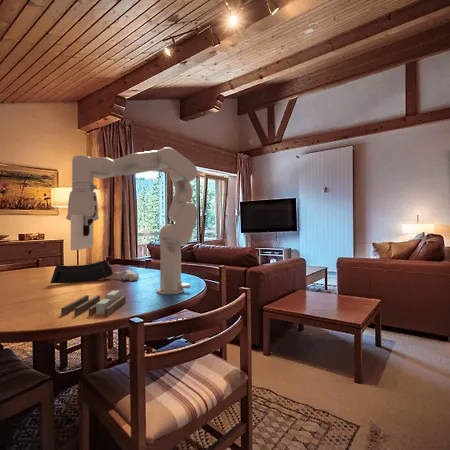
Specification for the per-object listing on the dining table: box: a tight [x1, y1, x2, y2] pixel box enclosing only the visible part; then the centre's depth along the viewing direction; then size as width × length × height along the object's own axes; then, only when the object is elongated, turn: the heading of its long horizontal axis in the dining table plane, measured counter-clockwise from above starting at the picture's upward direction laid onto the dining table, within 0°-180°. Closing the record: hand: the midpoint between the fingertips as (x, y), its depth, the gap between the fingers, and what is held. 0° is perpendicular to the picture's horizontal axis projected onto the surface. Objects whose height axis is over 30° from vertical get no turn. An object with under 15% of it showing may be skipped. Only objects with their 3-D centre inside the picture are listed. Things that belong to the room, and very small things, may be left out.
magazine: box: [50, 259, 114, 285], centre depth 160 cm, size 17×3×30 cm
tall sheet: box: [70, 215, 94, 251], centre depth 116 cm, size 2×14×13 cm, turn 179°
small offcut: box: [95, 298, 111, 316], centre depth 108 cm, size 3×6×4 cm, turn 1°
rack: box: [60, 294, 127, 317], centre depth 112 cm, size 16×18×2 cm
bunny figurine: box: [114, 269, 140, 282], centre depth 168 cm, size 10×5×15 cm
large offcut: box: [105, 290, 121, 304], centre depth 117 cm, size 3×7×5 cm, turn 0°
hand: (82, 235), depth 116 cm, fingers closed on tall sheet, 2 cm apart
